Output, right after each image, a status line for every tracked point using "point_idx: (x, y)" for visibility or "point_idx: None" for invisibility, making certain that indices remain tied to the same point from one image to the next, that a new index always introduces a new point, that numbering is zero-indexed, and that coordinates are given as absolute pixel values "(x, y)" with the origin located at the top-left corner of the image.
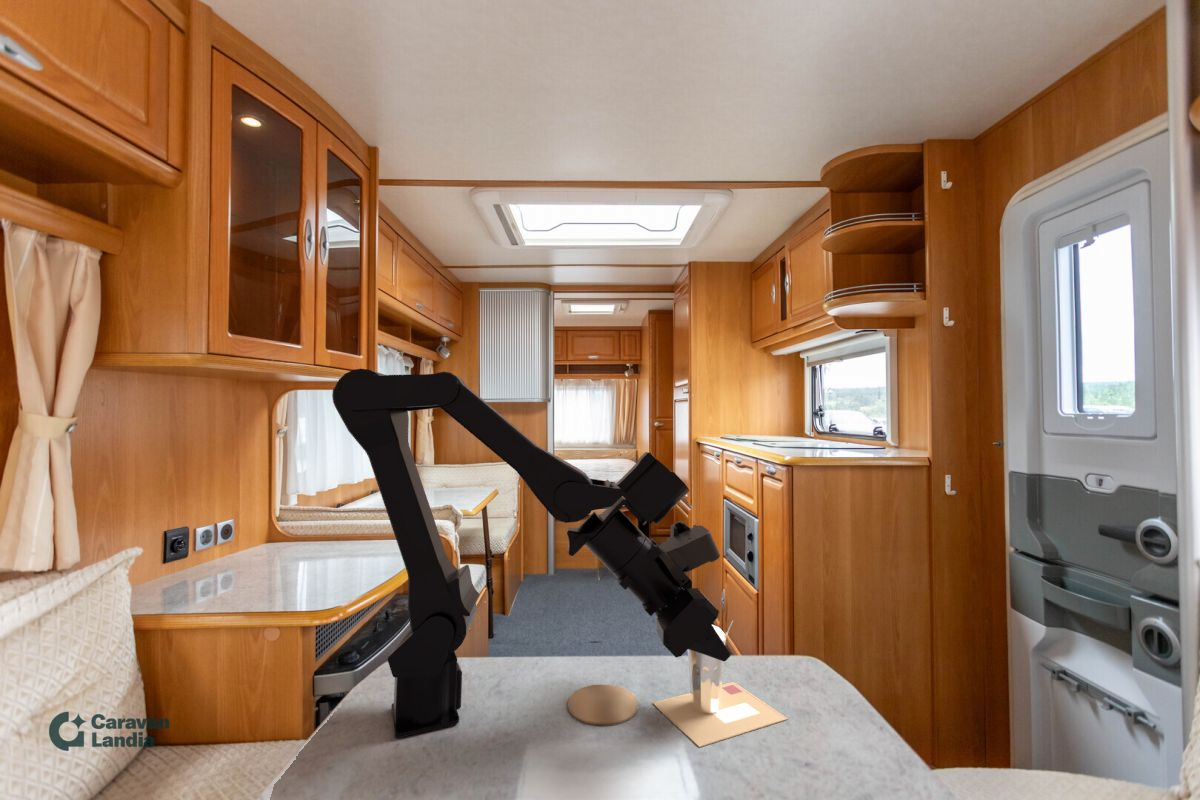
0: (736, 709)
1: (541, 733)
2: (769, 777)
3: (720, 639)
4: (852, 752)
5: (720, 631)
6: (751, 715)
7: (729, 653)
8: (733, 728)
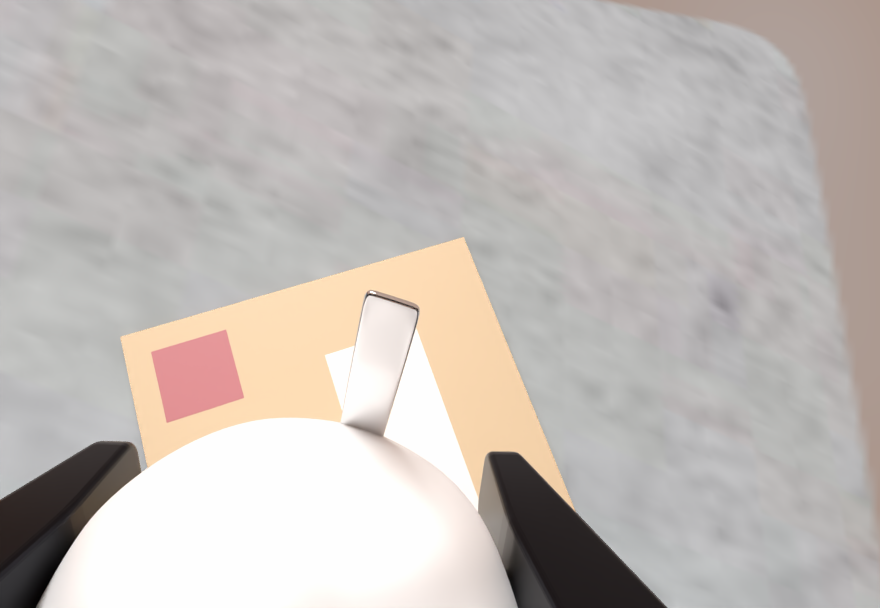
0: None
1: None
2: (806, 467)
3: (651, 596)
4: (652, 134)
5: (352, 488)
6: (430, 371)
7: (527, 464)
8: None
